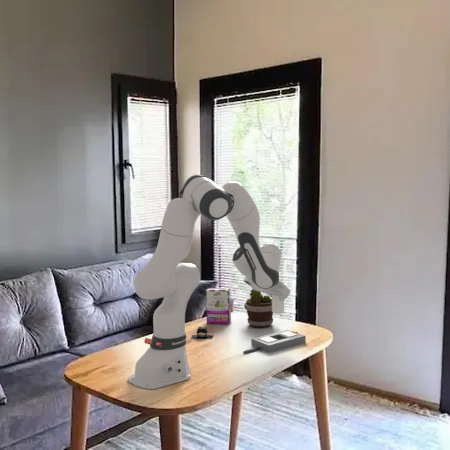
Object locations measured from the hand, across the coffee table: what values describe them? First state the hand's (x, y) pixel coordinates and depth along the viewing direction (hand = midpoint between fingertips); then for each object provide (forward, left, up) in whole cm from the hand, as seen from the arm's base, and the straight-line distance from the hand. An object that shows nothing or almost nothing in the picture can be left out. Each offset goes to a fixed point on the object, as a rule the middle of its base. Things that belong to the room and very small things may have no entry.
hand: (279, 298), depth 216 cm
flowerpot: (+16, +23, -19) cm, 34 cm away
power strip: (-5, +1, -19) cm, 20 cm away
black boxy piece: (-13, +32, -20) cm, 40 cm away
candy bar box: (+7, +41, -19) cm, 46 cm away
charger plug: (-1, 0, -6) cm, 6 cm away
